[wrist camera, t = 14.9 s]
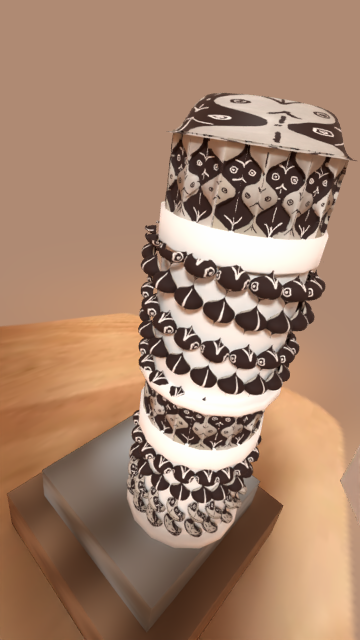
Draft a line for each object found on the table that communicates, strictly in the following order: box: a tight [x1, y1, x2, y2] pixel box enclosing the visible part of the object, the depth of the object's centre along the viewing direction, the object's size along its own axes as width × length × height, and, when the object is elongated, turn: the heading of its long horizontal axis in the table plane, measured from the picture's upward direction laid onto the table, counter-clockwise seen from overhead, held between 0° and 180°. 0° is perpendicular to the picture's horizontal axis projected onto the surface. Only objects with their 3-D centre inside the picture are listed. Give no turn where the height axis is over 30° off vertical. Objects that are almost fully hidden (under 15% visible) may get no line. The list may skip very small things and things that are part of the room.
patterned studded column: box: [127, 93, 355, 549], centre depth 20 cm, size 9×9×25 cm
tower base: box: [7, 415, 283, 640], centre depth 28 cm, size 16×16×7 cm
